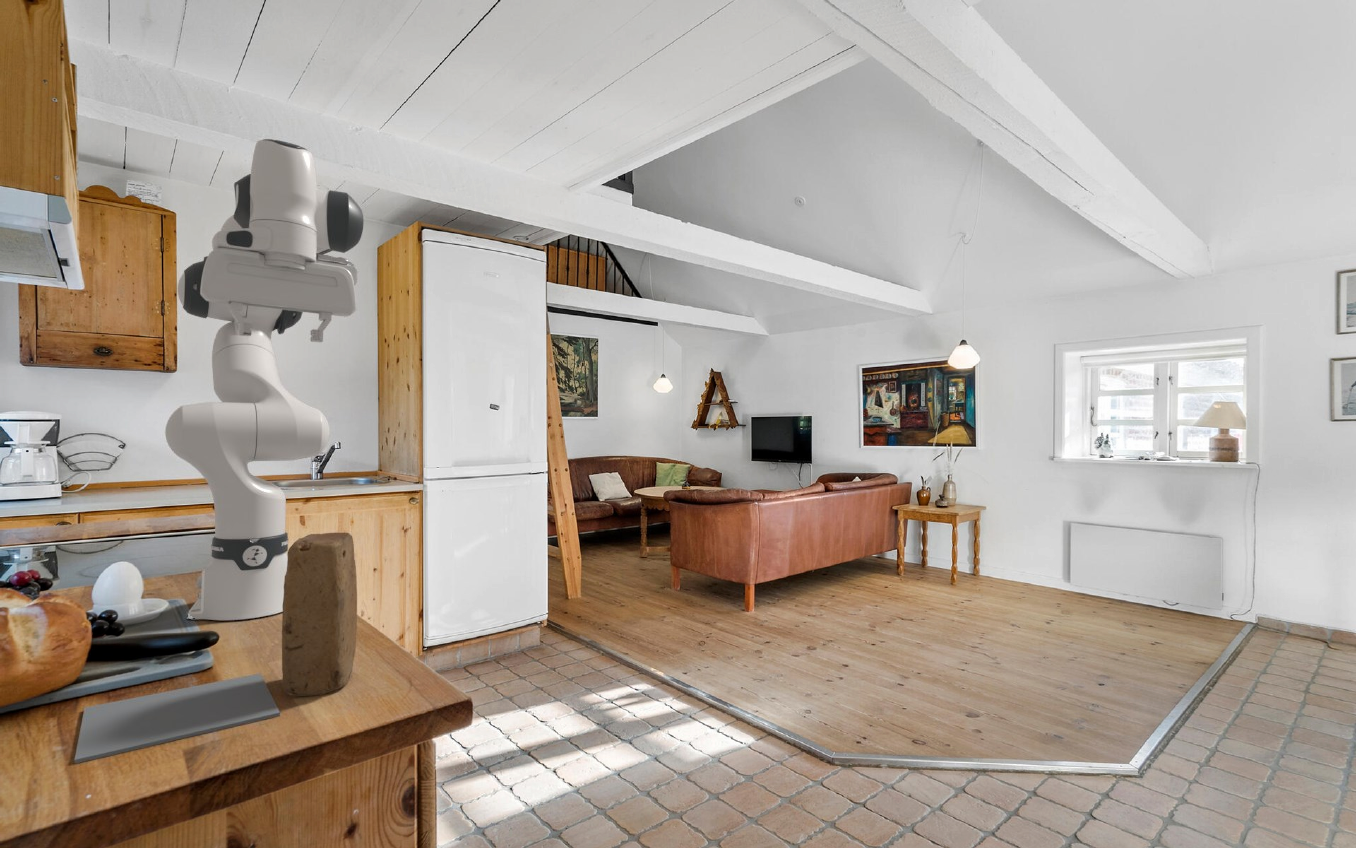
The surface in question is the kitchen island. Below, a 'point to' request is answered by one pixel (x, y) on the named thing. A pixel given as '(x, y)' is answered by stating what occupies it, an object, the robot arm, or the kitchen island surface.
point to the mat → (172, 716)
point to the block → (319, 614)
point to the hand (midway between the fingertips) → (281, 338)
